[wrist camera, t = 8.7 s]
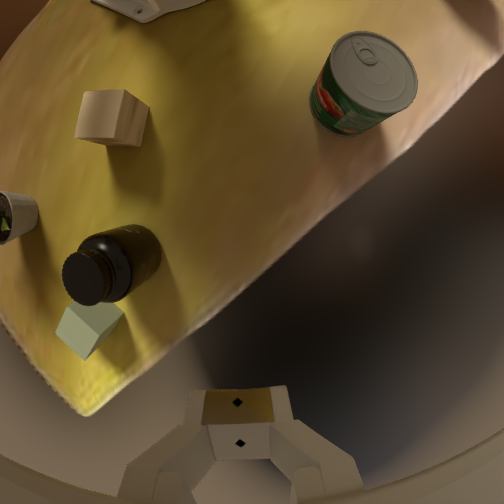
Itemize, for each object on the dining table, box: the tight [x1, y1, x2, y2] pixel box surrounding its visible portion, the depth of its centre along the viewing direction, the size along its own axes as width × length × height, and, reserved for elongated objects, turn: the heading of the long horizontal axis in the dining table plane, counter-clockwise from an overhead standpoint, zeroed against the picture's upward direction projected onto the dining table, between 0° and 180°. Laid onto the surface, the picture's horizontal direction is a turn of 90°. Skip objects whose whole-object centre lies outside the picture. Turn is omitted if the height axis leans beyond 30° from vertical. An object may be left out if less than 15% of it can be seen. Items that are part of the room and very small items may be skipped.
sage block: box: [55, 301, 124, 361], centre depth 32 cm, size 5×5×7 cm
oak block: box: [74, 89, 149, 147], centre depth 27 cm, size 5×5×7 cm
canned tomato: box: [309, 31, 418, 137], centre depth 24 cm, size 8×8×11 cm
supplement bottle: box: [62, 224, 161, 306], centre depth 27 cm, size 7×7×12 cm
